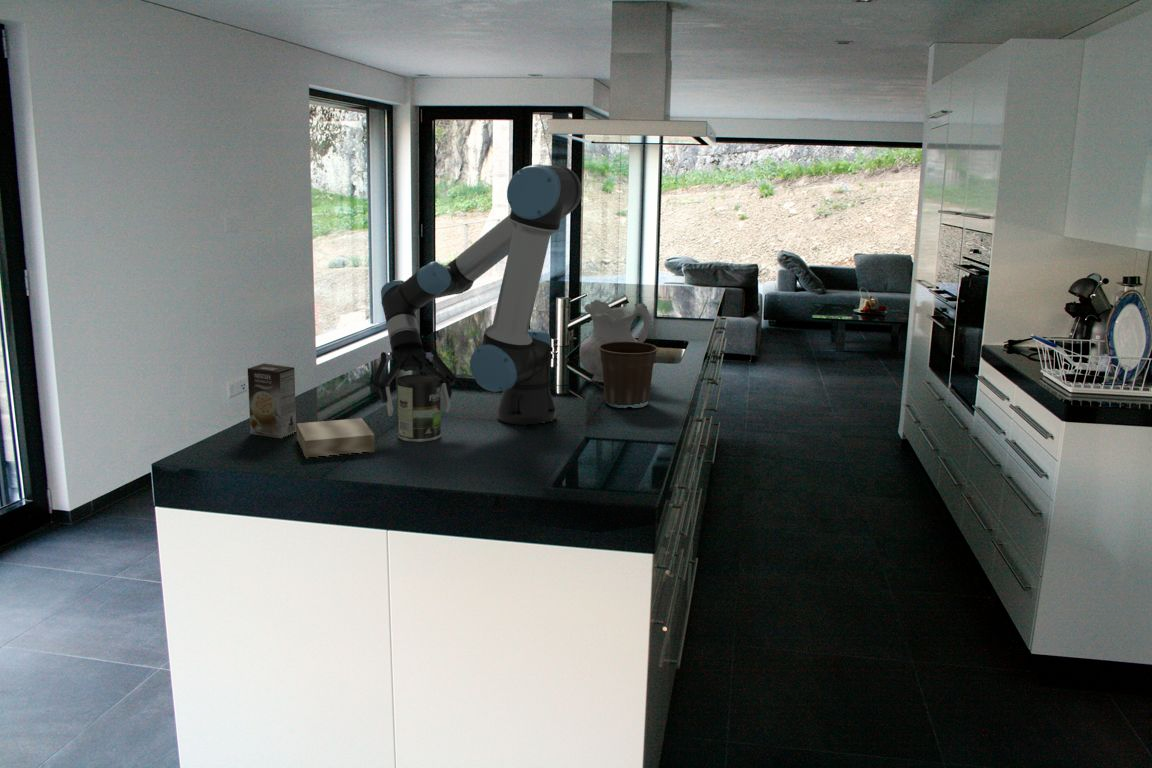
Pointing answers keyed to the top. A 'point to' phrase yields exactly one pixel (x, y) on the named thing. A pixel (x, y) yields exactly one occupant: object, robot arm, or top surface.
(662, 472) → the top surface
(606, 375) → the plant pot
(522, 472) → the top surface
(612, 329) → the ceramic pitcher
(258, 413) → the coffee box
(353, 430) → the oak base block
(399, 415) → the coffee can
